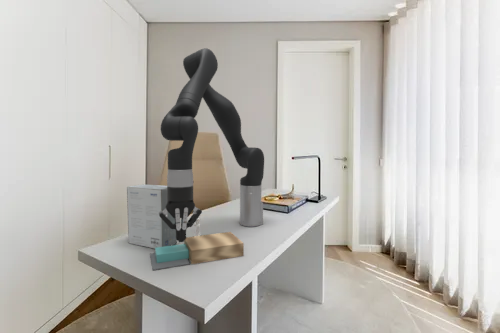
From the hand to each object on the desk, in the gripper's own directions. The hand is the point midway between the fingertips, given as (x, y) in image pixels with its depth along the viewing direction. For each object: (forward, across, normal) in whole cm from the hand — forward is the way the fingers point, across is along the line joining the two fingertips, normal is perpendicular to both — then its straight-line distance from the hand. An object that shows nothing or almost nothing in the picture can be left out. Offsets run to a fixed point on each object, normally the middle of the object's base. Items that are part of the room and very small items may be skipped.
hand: (180, 241), depth 82 cm
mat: (+5, +4, 0) cm, 6 cm away
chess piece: (+5, -8, -13) cm, 16 cm away
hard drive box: (+5, +7, -16) cm, 18 cm away
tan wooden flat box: (+5, -10, 0) cm, 11 cm away
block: (+5, +3, -1) cm, 5 cm away
